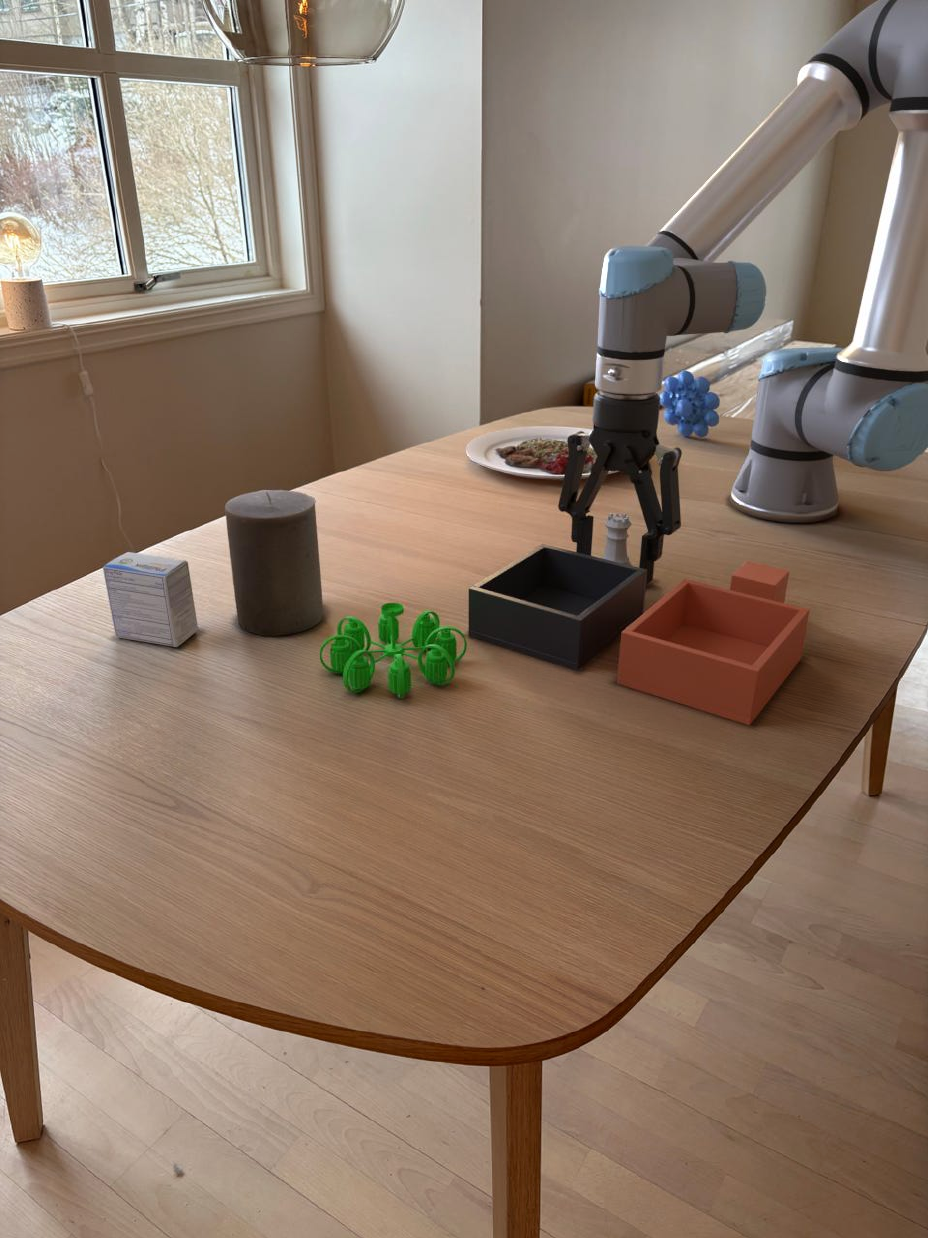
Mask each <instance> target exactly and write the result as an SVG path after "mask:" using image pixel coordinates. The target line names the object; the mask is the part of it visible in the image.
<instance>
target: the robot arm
mask: <svg viewBox="0 0 928 1238" xmlns="http://www.w3.org/2000/svg"><path fill="white" fill-rule="evenodd" d="M887 104H890V107H889V111H888V118H889V119H890V120H891V121H892V123H893V124H894V126H895V127H896V129H897V133H898V135H897V140H896V144H895V148H894V153H893V158H892V162H891V165H890V170H889V175H888V179H887V184H886V189H885V193H884V197H883V201H882V202H883V203H882V207H881V211H880V216H879V220H878V225H877V230H876V234H875V239H874V244H873V248H872V253H871V257H870V260H869V264H868V265H869V266H868V271H867V275H866V279H865V284H864V289H863V294H862V297H861V302H860V306H859V311H858V316H857V321H856V325H855V330H854V332H853V333H854V334H853V338H852V341H851V343H850V344H849V345H848V346H846V347H829V346H827V347H825V346H824V347H821V346H819V347H817V346H816V347H815V346H814V347H811V346H810V347H792V348H791V347H790V348H780V349H775V350H771V351H770V352H768V353H767V354H766V355H765V356H764V357H763V359H762V364H761V368H760V373H759V375H758V378H757V382H758V383H757V391H756V397H755V398H756V399H755V406H754V414H753V421H752V422H753V423H752V430H751V438H750V439H751V440H750V446H749V452H748V454H747V456H746V458H745V460H744V463H743V465H742V467H741V469H740V470H739V472H738V474H737V477H736V479H735V481H734V483H733V485H732V488H731V492H730V498H729V499H730V502H729V503H730V504H731V505H732V507H734V508H735V509H736V510H737V511H739V512H742V513H743V514H746V515H749V516H751V517H754V518H757V519H761V520H766V521H773V522H780V523H792V524H793V523H794V524H800V523H801V524H803V523H804V524H806V523H816V522H821V521H825V520H828V519H830V518H833V517H834V516H835V515H836V514H837V511H838V507H839V491H838V486H837V480H836V474H835V467H834V456H835V457H838V458H840V459H843V460H845V461H847V462H849V463H851V465H854V466H857V467H859V468H867V469H871V470H874V471H877V472H893V471H896V470H900V469H902V468H905V467H906V466H909V464H912V463H913V462H915V460H916V459H917V458H918V457H919V456H921V455H922V454H924V453H925V452H926V450H927V449H928V354H927V351H926V348H927V344H928V0H876V1H874V2H873V3H871V4H869V5H868V6H867V7H866V8H864V9H863V10H862V11H860V12H859V13H858V14H856V15H855V16H854V17H853V18H852V19H851V20H850V21H848V22H847V23H845V25H844V26H843V27H842V28H840V29H839V30H838V31H837V32H836V33H835V34H834V35H833V36H832V37H831V38H830V39H829V40H828V41H827V42H825V44H824V45H822V46H821V48H820V49H819V50H817V52H816V53H815V54H814V55H813V56H812V57H811V58H810V59H809V60H808V61H807V62H806V63H805V64H804V65H803V66H802V68H801V69H800V71H799V72H798V76H797V85H796V86H795V87H794V89H792V90H791V92H790V93H788V94H787V96H786V97H785V98H784V99H783V100H782V101H781V102H780V103H779V104H778V106H776V107H775V108H774V110H773V111H771V112H770V114H769V115H768V116H767V117H766V118H765V119H764V120H763V121H762V122H761V123H760V124H759V125H758V127H757V128H756V129H754V131H753V132H752V133H751V134H750V135H749V136H748V137H747V138H746V139H745V140H744V141H743V143H741V144H740V145H739V147H738V148H737V149H736V150H735V151H733V153H732V154H731V155H730V156H729V157H728V158H727V159H726V160H725V161H724V163H723V164H722V165H721V166H720V167H718V169H717V170H716V171H715V172H714V173H713V174H712V175H711V176H710V178H709V179H708V180H707V181H706V182H705V183H704V184H703V185H702V186H701V187H700V188H699V189H698V190H697V191H696V192H695V193H694V194H693V195H692V197H690V199H689V200H688V201H686V203H685V204H684V205H683V206H682V207H681V208H680V209H679V210H678V211H677V212H676V213H675V214H674V215H673V216H672V218H671V219H670V220H669V221H668V222H667V223H666V224H665V225H664V226H663V227H662V228H661V229H660V230H659V231H658V233H657V234H655V236H654V237H652V239H651V240H650V241H648V243H647V244H646V245H623V246H616V247H613V248H611V249H609V250H608V251H607V252H606V254H605V256H604V258H603V266H602V269H601V276H600V277H601V278H600V286H599V289H598V295H599V308H598V309H599V310H598V326H597V328H598V329H597V350H596V351H597V352H596V361H595V378H594V379H595V380H594V387H595V388H596V390H598V391H597V392H596V393H595V394H594V395H593V409H592V424H593V425H592V428H591V429H592V431H591V432H590V433H584V432H583V431H579V432H577V433H575V434H572V435H570V436H569V437H568V439H567V441H568V450H569V456H568V461H567V466H566V471H565V476H564V480H562V481H563V482H562V486H561V491H560V495H559V500H558V506H557V508H558V510H559V511H560V512H562V513H566V514H568V515H569V516H570V517H571V536H570V539H571V542H572V543H575V544H576V549H575V552H578V553H582V554H586V555H590V556H592V547H593V534H594V533H593V532H594V519H595V518H594V517H595V516H593V515H590V514H589V513H590V512H591V507H592V506H593V503H594V501H595V499H596V498H597V496H598V494H599V491H600V489H601V488H602V486H603V484H604V482H605V481H606V480H605V479H606V478H607V476H608V475H609V474H608V472H609V471H619V472H618V473H621V474H624V475H628V477H629V480H630V483H631V484H633V486H634V489H635V493H636V497H637V500H638V503H639V507H640V510H641V513H642V517H643V520H644V523H645V526H646V529H647V531H646V532H645V533H644V534H643V535H642V536H641V543H640V553H639V554H640V555H639V565H638V567H639V568H643V569H647V579H646V586H647V585H648V584H649V583H651V582H652V581H653V580H654V570H655V562H657V561H658V560H659V559H661V558H662V556H663V549H664V540H665V536H671V535H673V534H674V533H676V532H677V531H678V530H679V529H680V528H681V527H682V518H681V516H682V515H681V502H680V501H681V500H680V484H679V483H680V482H679V465H680V461H681V458H682V454H683V453H682V452H683V451H682V449H681V448H680V447H677V446H676V447H673V448H670V447H668V446H665V445H662V444H660V441H659V438H658V434H657V433H658V432H657V431H658V427H659V417H660V406H661V404H660V397H659V395H660V394H658V393H659V391H661V390H662V389H663V388H662V387H663V377H664V376H663V374H664V363H665V362H664V359H665V352H666V344H667V337H676V336H686V335H688V336H689V335H700V334H701V335H702V334H715V333H716V334H718V333H719V334H721V333H723V334H729V333H731V332H736V331H743V330H748V329H749V328H751V327H753V326H754V325H755V324H756V323H758V321H759V319H761V316H762V314H763V313H764V310H765V306H766V296H767V284H766V283H767V282H766V280H765V277H764V275H763V273H762V271H761V270H760V268H759V267H758V266H756V264H753V263H751V262H744V261H743V262H741V261H740V262H739V261H738V262H737V261H733V260H728V261H727V262H715V261H716V260H717V259H718V258H719V257H720V256H721V255H722V254H723V253H724V252H725V251H726V250H727V249H728V247H729V246H730V245H731V244H733V242H735V240H736V239H738V238H739V236H740V235H741V234H742V233H743V232H744V231H745V230H746V229H747V228H748V227H749V226H750V225H751V223H753V221H754V220H755V219H756V218H757V217H758V216H759V215H760V214H761V213H763V211H764V210H765V209H766V208H767V207H768V206H769V205H770V204H771V203H772V202H773V201H774V199H775V198H777V197H778V196H779V194H781V192H782V191H783V190H784V189H785V188H786V187H787V186H788V185H789V184H790V183H791V182H792V181H793V180H794V179H795V178H796V176H797V175H798V174H800V172H801V171H802V170H803V169H804V168H805V167H806V166H807V165H808V164H809V163H810V162H811V161H812V160H813V159H815V157H816V156H817V155H818V153H820V152H821V151H822V149H824V147H826V146H827V144H828V143H829V142H830V141H831V140H832V139H833V138H834V137H835V136H836V135H837V134H838V132H840V131H849V130H852V129H853V128H855V127H856V126H857V125H858V124H859V122H860V121H861V120H862V119H864V117H865V116H867V115H868V114H869V113H871V112H873V111H874V110H875V109H877V108H879V107H881V106H882V107H883V106H885V105H887ZM590 444H591V446H592V448H593V450H594V451H595V453H596V455H597V458H596V460H595V462H594V464H593V466H592V468H591V473H590V475H589V477H588V478H586V482H585V483H584V485H583V487H582V489H581V492H580V493H579V491H580V487H581V482H582V479H581V478H582V473H583V469H584V464H585V459H586V454H587V450H588V449H589V446H590ZM654 456H655V457H656V458H657V465H658V466H659V467H660V468H659V487H660V488H659V489H660V501H661V502H660V501H659V497H658V494H657V490H656V487H655V483H654V480H653V477H652V476H653V470H652V467H651V463H650V460H651V459H652V458H653V457H654ZM660 503H661V504H660ZM587 514H588V515H587Z"/></svg>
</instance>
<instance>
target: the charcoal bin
mask: <svg viewBox="0 0 928 1238" xmlns="http://www.w3.org/2000/svg"><path fill="white" fill-rule="evenodd" d="M631 565H632V564H631ZM631 565H627V564H623V563H618V562H614V561H610V560H606V559H602V558H601V557H599V556H598V557H597V556H594V555H591V556H590V555H586V554H582V553H578V552H576V551H574V550H570V549H566V548H560V547H557V546H553V545H548V544H545V543H541V544H540V545H538V546H535V548H533V549H531V550H530V551H528V552H526V553H525V554H522V555H521V556H520V557H518V558H516V559H515V560H513V561H512V562H510V563H508V564H507V565H504V566H503V567H502V568H499V569H498V570H497V571H495V572H494V573H492V574H490V575H488V576H486V577H485V578H483V579H482V580H480V581H479V582H476V583H474V584H473V585H472V586H470V587H469V588H468V627H467V628H468V631H467V635H468V638H469V637H470V638H472V639H476V640H478V641H481V642H485V643H489V644H491V645H494V646H497V647H501V648H504V649H507V650H510V651H513V652H517V653H520V654H522V655H526V656H528V657H529V656H530V657H533V658H536V659H539V660H542V661H545V662H548V663H551V664H553V665H554V664H555V665H557V666H561V667H563V668H567V669H570V670H574V671H577V672H578V671H580V670H582V668H583V667H584V666H586V665H587V664H588V663H590V661H592V660H593V659H594V658H595V657H596V656H597V655H599V654H600V653H601V652H602V651H603V650H605V648H607V647H608V646H609V645H611V644H612V643H613V642H614V641H615V640H617V638H619V637H621V632H622V631H623V630H625V629H626V628H627V627H628V626H629V625H631V624H632V623H633V622H634V621H635V620H637V619H638V618H639V617H640V616H641V615H642V614H644V609H645V599H646V590H647V589H646V588H647V585H646V579H647V569H643V568H639V566H635V565H632V566H631Z"/></svg>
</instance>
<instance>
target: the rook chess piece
mask: <svg viewBox="0 0 928 1238" xmlns="http://www.w3.org/2000/svg"><path fill="white" fill-rule="evenodd" d="M604 526H606V528H607V532H605V537H606V543H605V547H604V552H603V554H602V555H601V557H600V558H602V559H606V560H610V561H614V562H618V563H623V564H627V565H631V566H633V565H632V562H631V561H630V557H629V556H628V549H627V543H628V538H629V537H630V536H629V533H628V530H629V529H630V527H631V526H632V522H631V521H630V516H629V515H627V513H623V512H622V513H621V516H620V512H614V513H612V512H610V513H609V514H608V515H607V519H606V520H605V521H604Z"/></svg>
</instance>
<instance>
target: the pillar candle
mask: <svg viewBox="0 0 928 1238" xmlns="http://www.w3.org/2000/svg"><path fill="white" fill-rule="evenodd" d="M316 502H317V500H316V498H315V497H314V496H311V495H309V494H306V493H303V492H301V491H295V490H285V489H276V490H275V489H263V490H261V489H260V490H258V491H252V492H248V493H244V494H240V495H238V496H235V497H232V498H231V499H228V501H227V502H226V504H225V507H224V509H225V522H226V532H227V541H228V549H229V557H230V567H231V574H232V576H231V577H232V586H233V592H234V602H235V610H236V616H237V622H238V625H239V627H240V628H241V629H243V630H245V631H246V632H250V633H253V634H255V635H259V636H266V637H278V636H289V635H292V634H297V633H301V632H304V631H307V630H309V629H311V628H313V627H315V626H316V625H317V624H319V623H320V622H321V621H322V619H323V617H324V603H323V590H322V578H321V577H322V576H321V561H320V549H319V538H318V537H319V536H318V526H317V525H318V524H317V512H316V511H317V510H316Z"/></svg>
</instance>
